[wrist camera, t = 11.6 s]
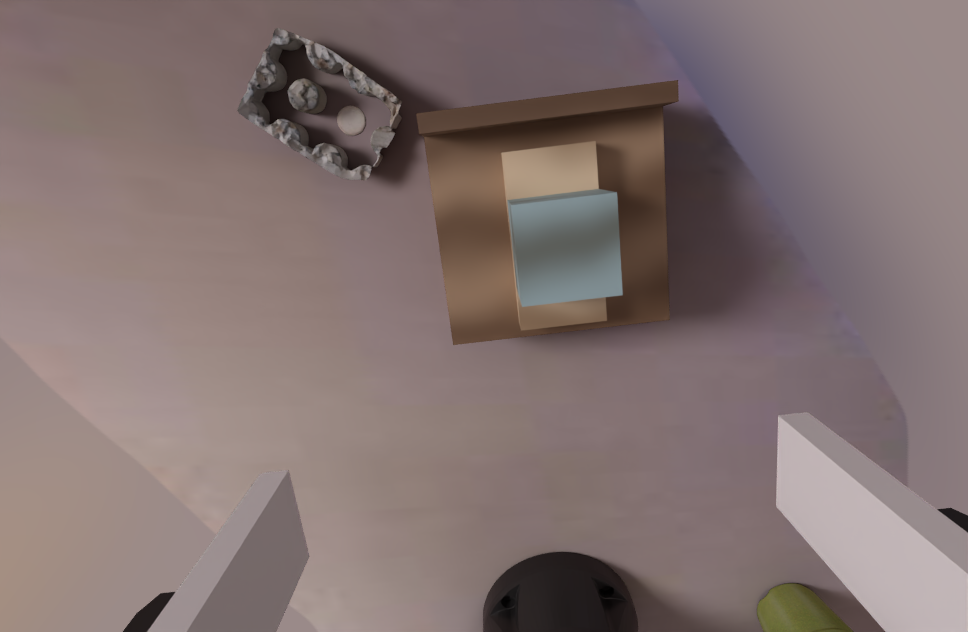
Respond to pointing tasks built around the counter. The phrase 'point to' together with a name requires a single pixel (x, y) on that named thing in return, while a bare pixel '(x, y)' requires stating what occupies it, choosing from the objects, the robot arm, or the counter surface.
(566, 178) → the blue cube on tile
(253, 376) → the counter surface
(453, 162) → the dock
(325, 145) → the miniature stone ruin
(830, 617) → the plant pot
